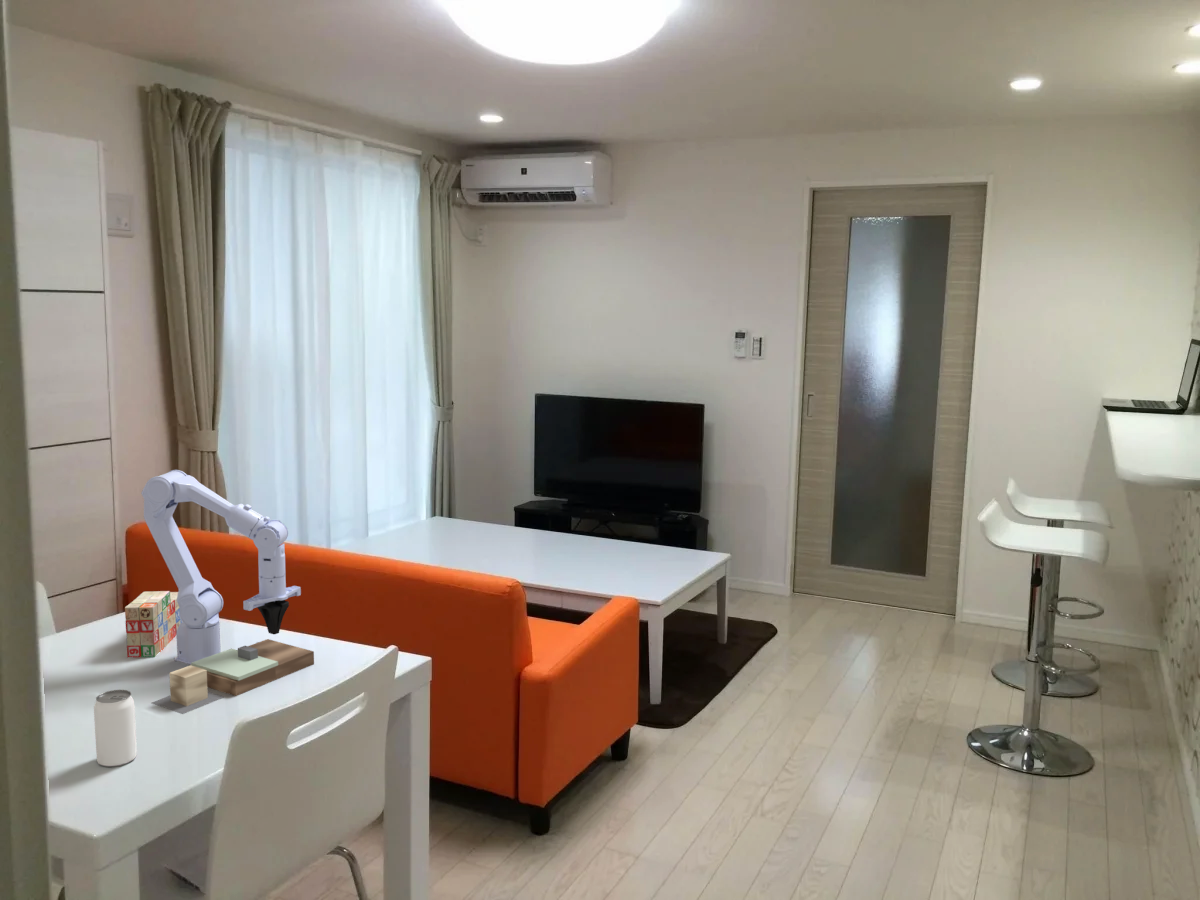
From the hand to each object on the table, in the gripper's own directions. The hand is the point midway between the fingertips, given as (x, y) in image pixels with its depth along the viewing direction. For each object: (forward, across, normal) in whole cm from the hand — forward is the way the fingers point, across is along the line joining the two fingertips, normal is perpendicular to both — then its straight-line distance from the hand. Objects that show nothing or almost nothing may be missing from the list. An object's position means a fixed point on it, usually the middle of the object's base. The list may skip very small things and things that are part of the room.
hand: (273, 632), depth 220 cm
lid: (+4, -12, -2) cm, 13 cm away
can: (+7, -48, -15) cm, 50 cm away
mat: (+7, -25, -3) cm, 26 cm away
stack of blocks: (+8, -6, +34) cm, 35 cm away
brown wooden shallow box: (+7, -8, -2) cm, 11 cm away
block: (+7, -24, -3) cm, 26 cm away
